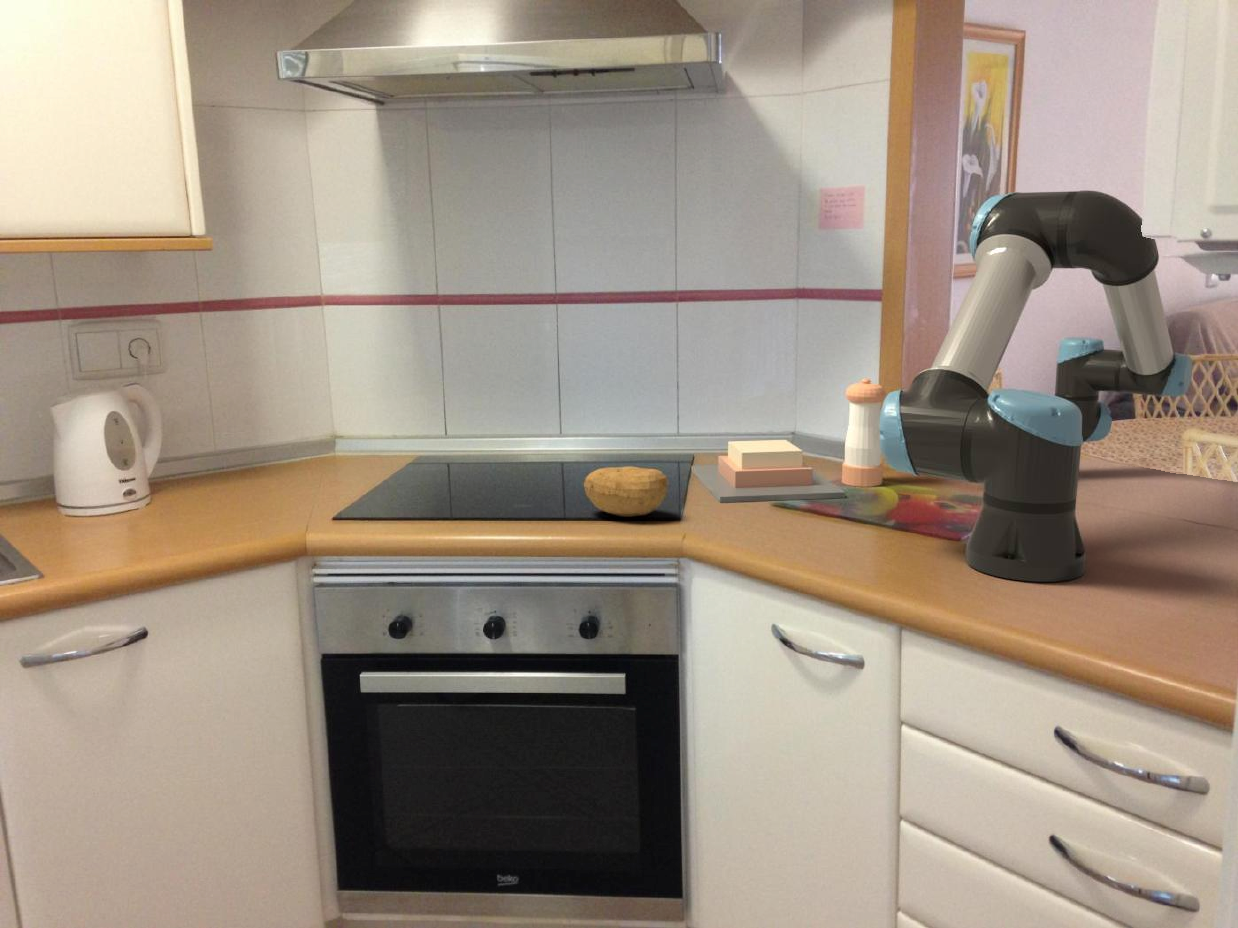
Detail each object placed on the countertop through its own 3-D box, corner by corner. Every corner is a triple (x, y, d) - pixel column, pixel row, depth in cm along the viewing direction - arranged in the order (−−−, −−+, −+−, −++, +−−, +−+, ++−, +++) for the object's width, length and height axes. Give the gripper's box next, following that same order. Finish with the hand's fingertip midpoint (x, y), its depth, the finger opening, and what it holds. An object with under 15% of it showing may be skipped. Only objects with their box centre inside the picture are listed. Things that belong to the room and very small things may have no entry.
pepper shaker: (883, 479, 193) (888, 377, 189) (881, 488, 187) (885, 381, 183) (843, 477, 196) (847, 375, 192) (839, 485, 189) (843, 380, 185)
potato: (596, 505, 176) (596, 459, 174) (675, 511, 171) (676, 464, 170) (574, 519, 167) (573, 470, 165) (657, 526, 162) (656, 476, 161)
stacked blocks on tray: (845, 497, 180) (846, 458, 178) (720, 502, 177) (720, 462, 176) (801, 466, 205) (802, 432, 203) (691, 470, 202) (691, 435, 201)
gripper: (1059, 456, 181) (942, 460, 179) (992, 432, 205) (888, 435, 203) (1062, 414, 180) (945, 417, 177) (994, 394, 204) (890, 397, 201)
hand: (914, 427), depth 190 cm, fingers open, 13 cm apart
